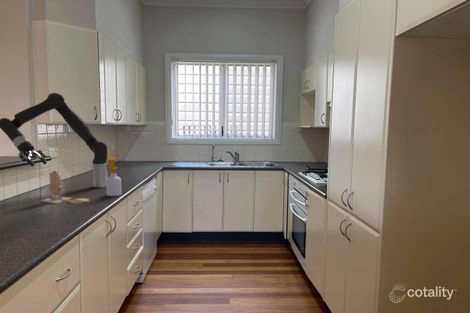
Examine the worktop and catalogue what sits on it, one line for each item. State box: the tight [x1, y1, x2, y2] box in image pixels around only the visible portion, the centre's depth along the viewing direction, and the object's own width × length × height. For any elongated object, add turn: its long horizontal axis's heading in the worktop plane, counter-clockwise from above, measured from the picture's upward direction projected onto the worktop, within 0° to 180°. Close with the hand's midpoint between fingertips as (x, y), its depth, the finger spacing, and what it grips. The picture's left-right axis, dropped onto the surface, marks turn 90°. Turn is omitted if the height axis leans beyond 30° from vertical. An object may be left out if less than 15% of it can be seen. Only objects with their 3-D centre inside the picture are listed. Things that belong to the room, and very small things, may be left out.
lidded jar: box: [49, 170, 63, 190], centre depth 181 cm, size 6×6×10 cm
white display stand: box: [39, 187, 74, 205], centre depth 182 cm, size 12×12×8 cm
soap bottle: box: [105, 156, 123, 197], centre depth 198 cm, size 9×9×25 cm
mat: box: [68, 198, 90, 205], centre depth 181 cm, size 11×11×1 cm
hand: (39, 164), depth 183 cm, fingers open, 8 cm apart
